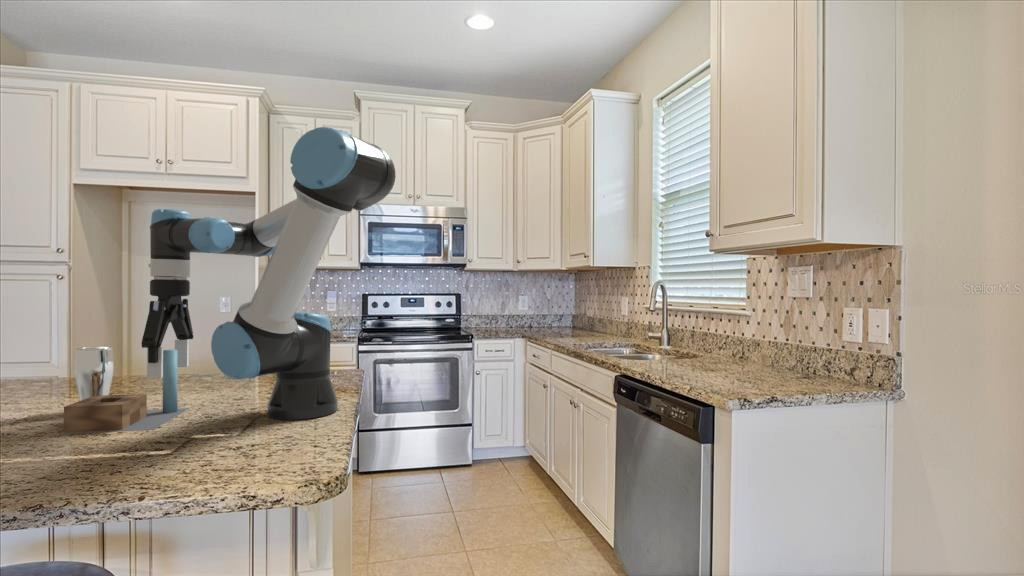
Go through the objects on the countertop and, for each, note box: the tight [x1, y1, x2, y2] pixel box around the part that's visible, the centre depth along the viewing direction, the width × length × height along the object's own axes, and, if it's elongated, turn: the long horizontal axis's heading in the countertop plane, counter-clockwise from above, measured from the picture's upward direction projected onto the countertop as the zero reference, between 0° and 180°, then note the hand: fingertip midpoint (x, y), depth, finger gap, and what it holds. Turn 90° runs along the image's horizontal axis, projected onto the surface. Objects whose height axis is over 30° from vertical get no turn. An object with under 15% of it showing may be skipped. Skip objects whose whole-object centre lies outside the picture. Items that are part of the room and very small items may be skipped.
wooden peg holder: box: [63, 393, 148, 433], centre depth 106 cm, size 10×10×5 cm
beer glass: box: [73, 345, 115, 401], centre depth 116 cm, size 7×7×15 cm
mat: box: [60, 407, 190, 435], centre depth 109 cm, size 16×18×1 cm
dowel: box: [162, 348, 179, 413], centre depth 116 cm, size 3×3×14 cm
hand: (168, 372), depth 116 cm, fingers open, 13 cm apart
